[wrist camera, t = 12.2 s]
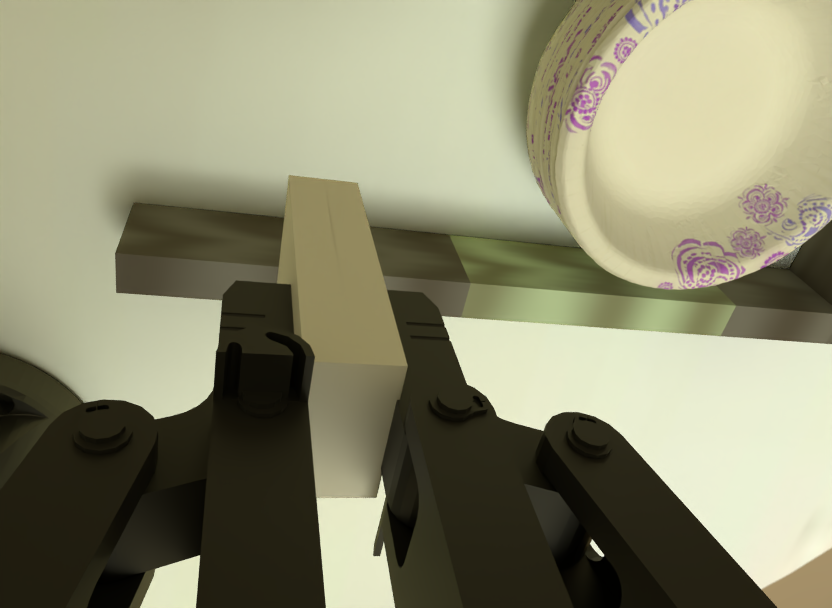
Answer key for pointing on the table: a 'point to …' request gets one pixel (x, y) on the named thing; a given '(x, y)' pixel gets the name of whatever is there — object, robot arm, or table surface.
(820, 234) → the shallow tray
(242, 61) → the table surface
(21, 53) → the table surface
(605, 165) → the paper bowls
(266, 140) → the table surface
